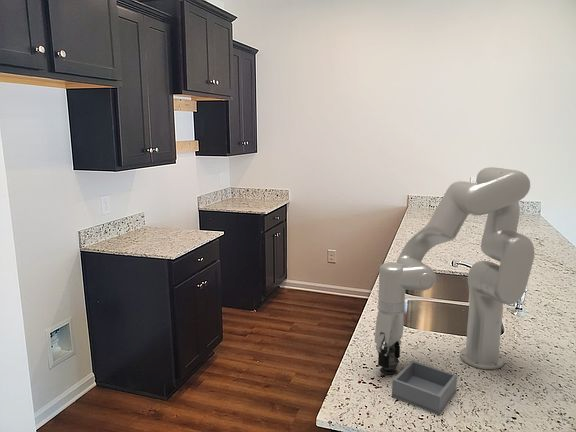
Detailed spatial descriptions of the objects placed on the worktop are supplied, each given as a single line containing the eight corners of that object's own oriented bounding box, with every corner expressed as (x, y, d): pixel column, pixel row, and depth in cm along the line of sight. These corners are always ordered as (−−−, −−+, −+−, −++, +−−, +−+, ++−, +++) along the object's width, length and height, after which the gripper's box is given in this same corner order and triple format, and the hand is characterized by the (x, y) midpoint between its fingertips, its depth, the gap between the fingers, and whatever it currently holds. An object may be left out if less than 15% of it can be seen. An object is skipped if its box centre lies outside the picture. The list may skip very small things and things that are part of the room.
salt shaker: (374, 371, 135) (376, 334, 132) (385, 363, 139) (386, 327, 137) (392, 378, 131) (393, 340, 128) (402, 370, 135) (404, 333, 133)
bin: (411, 376, 132) (412, 360, 131) (456, 391, 124) (457, 375, 123) (391, 396, 122) (392, 379, 121) (439, 414, 114) (440, 397, 113)
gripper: (392, 293, 140) (390, 347, 143) (365, 311, 126) (363, 369, 130) (415, 299, 135) (412, 354, 139) (389, 318, 122) (387, 378, 125)
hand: (389, 361), depth 134 cm, fingers open, 6 cm apart
